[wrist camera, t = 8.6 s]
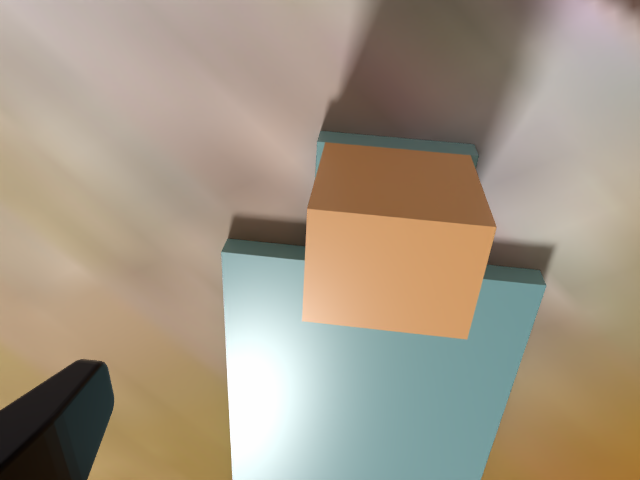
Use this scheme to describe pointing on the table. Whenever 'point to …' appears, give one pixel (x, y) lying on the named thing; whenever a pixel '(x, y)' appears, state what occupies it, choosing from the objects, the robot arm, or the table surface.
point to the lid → (376, 322)
